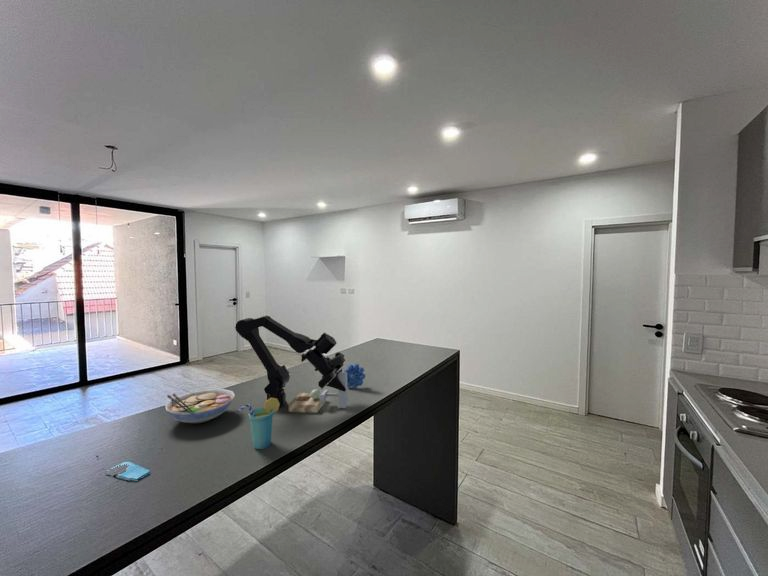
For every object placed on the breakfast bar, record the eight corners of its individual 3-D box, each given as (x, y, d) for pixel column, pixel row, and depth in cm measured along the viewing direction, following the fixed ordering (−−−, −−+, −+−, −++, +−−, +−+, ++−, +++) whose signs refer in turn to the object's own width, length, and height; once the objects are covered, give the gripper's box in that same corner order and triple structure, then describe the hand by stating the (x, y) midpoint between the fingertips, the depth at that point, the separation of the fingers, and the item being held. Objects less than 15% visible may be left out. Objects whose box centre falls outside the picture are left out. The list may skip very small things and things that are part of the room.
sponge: (127, 484, 83) (151, 469, 88) (102, 472, 88) (127, 458, 93) (128, 489, 83) (152, 474, 88) (104, 477, 88) (128, 463, 93)
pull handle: (320, 408, 128) (319, 375, 127) (324, 402, 134) (324, 370, 133) (345, 409, 127) (344, 375, 126) (348, 403, 133) (348, 371, 132)
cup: (246, 461, 94) (244, 410, 93) (231, 452, 98) (230, 404, 97) (285, 440, 105) (284, 395, 104) (270, 433, 109) (269, 390, 109)
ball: (309, 400, 129) (308, 391, 129) (312, 397, 133) (312, 387, 133) (318, 401, 129) (318, 391, 129) (321, 397, 133) (321, 387, 133)
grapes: (369, 387, 153) (369, 362, 152) (362, 392, 146) (362, 366, 146) (348, 383, 157) (347, 359, 157) (340, 388, 151) (340, 363, 151)
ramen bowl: (247, 418, 121) (246, 397, 120) (176, 442, 104) (175, 418, 104) (221, 401, 138) (220, 382, 137) (157, 419, 121) (156, 397, 121)
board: (288, 411, 126) (288, 404, 126) (299, 399, 138) (299, 392, 138) (316, 412, 125) (316, 405, 125) (325, 400, 137) (325, 393, 137)
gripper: (326, 353, 120) (355, 383, 119) (338, 342, 139) (364, 368, 138) (306, 373, 121) (335, 403, 121) (321, 360, 140) (346, 386, 139)
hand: (346, 389), depth 130 cm, fingers closed on pull handle, 3 cm apart
